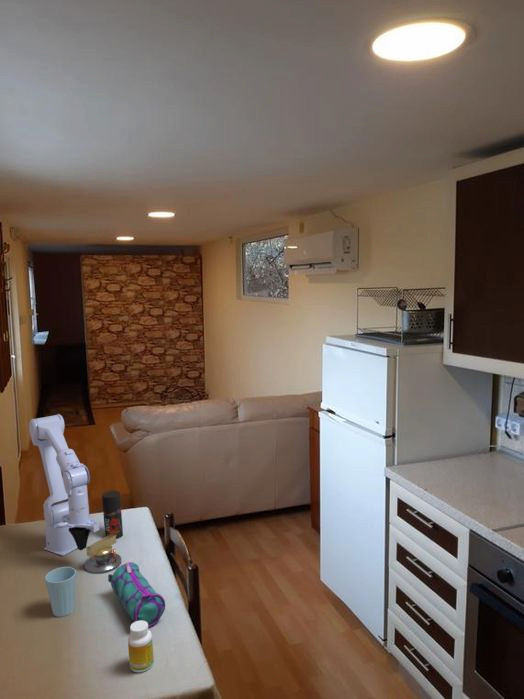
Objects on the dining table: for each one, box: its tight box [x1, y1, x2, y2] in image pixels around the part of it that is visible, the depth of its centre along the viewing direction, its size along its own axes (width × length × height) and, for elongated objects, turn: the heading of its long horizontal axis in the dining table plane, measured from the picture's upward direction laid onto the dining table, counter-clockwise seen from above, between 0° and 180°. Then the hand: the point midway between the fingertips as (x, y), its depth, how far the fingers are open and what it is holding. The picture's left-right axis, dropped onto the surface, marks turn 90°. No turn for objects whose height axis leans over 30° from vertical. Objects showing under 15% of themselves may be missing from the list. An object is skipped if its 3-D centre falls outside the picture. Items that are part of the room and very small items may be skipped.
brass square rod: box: [85, 534, 117, 558], centre depth 169 cm, size 6×10×4 cm, turn 149°
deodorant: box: [101, 490, 124, 540], centre depth 187 cm, size 6×6×15 cm
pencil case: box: [107, 561, 166, 629], centre depth 146 cm, size 21×9×10 cm, turn 33°
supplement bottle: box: [127, 620, 154, 673], centre depth 125 cm, size 5×5×10 cm
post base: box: [83, 548, 122, 575], centre depth 170 cm, size 11×11×5 cm
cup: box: [44, 566, 77, 618], centre depth 146 cm, size 8×8×10 cm
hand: (82, 548), depth 168 cm, fingers closed
